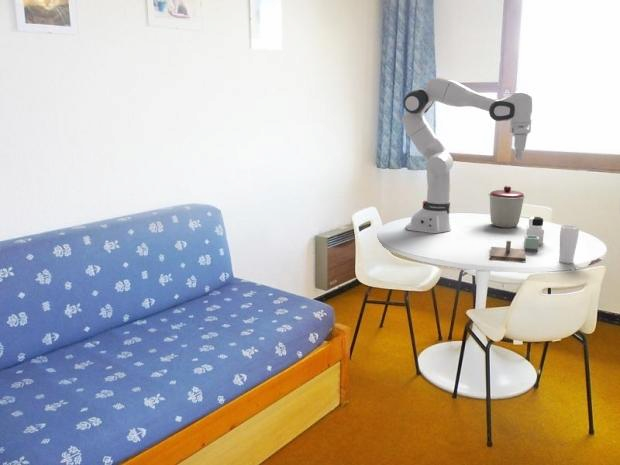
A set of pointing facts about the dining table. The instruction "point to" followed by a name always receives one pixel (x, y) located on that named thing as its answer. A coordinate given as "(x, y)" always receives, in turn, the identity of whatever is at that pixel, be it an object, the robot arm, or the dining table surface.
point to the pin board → (508, 253)
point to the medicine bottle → (536, 228)
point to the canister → (505, 207)
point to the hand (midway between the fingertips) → (518, 159)
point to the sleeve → (531, 243)
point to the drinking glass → (568, 243)
